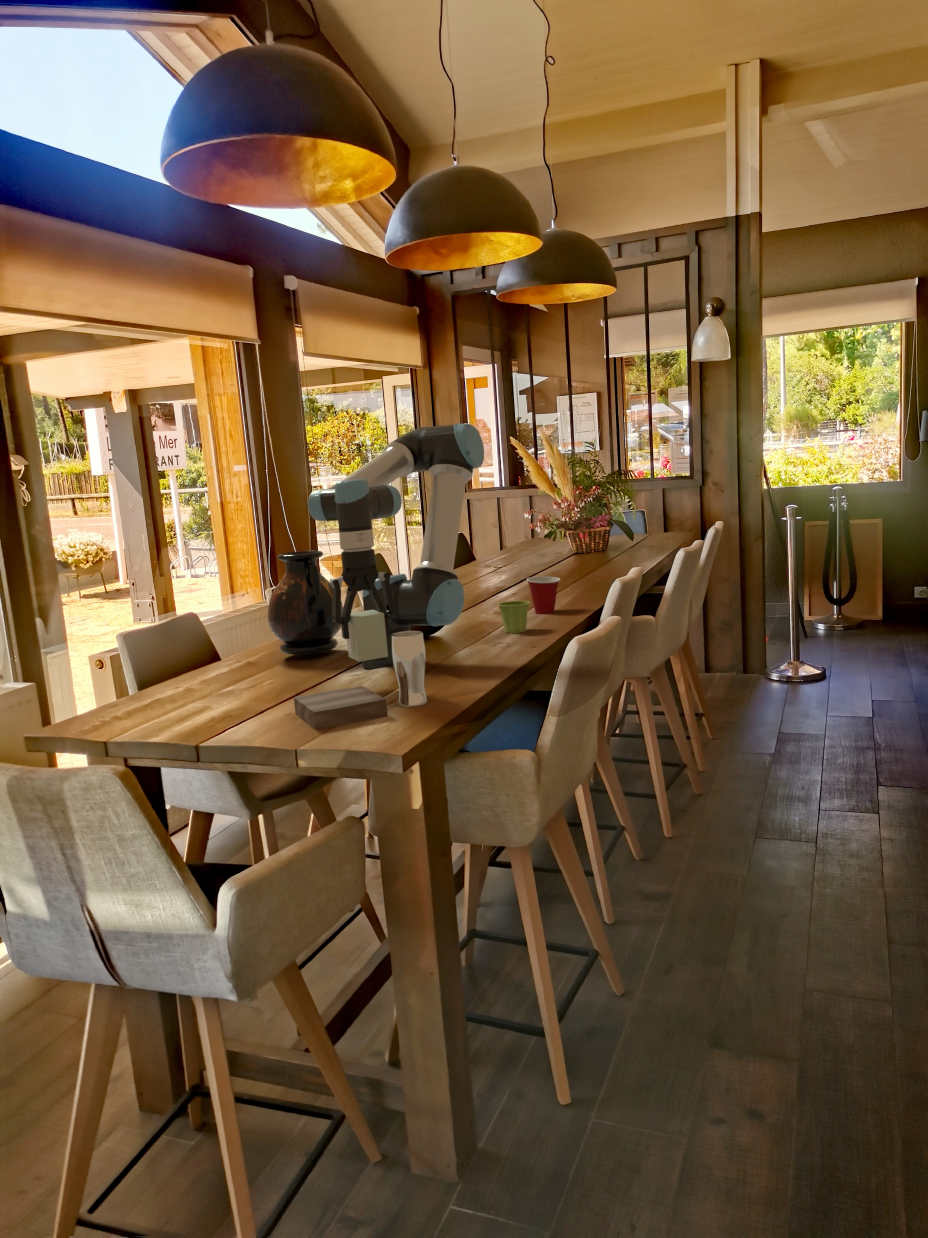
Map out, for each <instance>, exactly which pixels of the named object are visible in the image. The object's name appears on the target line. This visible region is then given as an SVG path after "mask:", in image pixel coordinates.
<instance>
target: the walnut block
mask: <svg viewBox="0 0 928 1238" xmlns="http://www.w3.org/2000/svg"><path fill="white" fill-rule="evenodd" d="M293 704H294V713H295V715H296V716H298V717H299V718H300V719H301V720H302V721H304V722H305V723H306V724H308V725H309V726H310V727H312V729H314V730H316V731H317V730H321V729H327V728H333V727H338V726H343V725H349V724H354V723H359V722H365V721H370V720H376V719H381V718H387V717H388V706H387V699H386V698H385V697H383V696H381V695H379V694H378V693H375V692H374V691H372V690H370V689H369V688H366V687H365V686H363V685H359V686H354V687H347V688H341V689H335V690H329V691H324V692H318V693H313V694H306V695H301V696H295V697H293Z"/></svg>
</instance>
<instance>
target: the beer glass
mask: <svg viewBox="0 0 928 1238" xmlns="http://www.w3.org/2000/svg"><path fill="white" fill-rule="evenodd" d="M391 636H392V658H393V664H394V666H393V668H394V670H395V675H396V679H397V683H398V702H397V704H398V706H400V707H404V708H415V707H421V706H424V705H426V704H427V703H428V699H427V698H428V697H427V695H426V690H425V673H426V671H425V670H426V659H427V658H426V647H425V639H424V633H423V631H420V630H411V631H404V632H397V633H394V634H392V635H391Z"/></svg>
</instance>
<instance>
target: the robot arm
mask: <svg viewBox="0 0 928 1238" xmlns="http://www.w3.org/2000/svg"><path fill="white" fill-rule="evenodd" d="M481 436H482V435H481V434H480V433H479V430H478V429H477V428H476V427H475V426H474V425H473V424H471V423H453V424H445V425H435V426H433V425H432V426H422V427H418V428H415V429H413V430H410V431H408V432H407V433H404V434H403V435H400V436H399V437H397V438H395V440H392V441H391V442H389V443H388V444H387V445H385V446H384V448H383V450H382V452H381V453H380V454H378V455H377V456H376V457H374V458H373V459H371V460H370V461H368V462H367V463H365V464H364V465H362V466H361V467H359V468H358V469H357V470H355V471H353V472H351V473H350V474H348V476H346V477H344V478H343V479H341V480H338V481H337V482H336V483H335V484H334V485H332V486H330V487H328V488H321V489H316V490H314V491H312V492H311V493H310V494H309V496H308V500H307V509H308V512H309V515H310V516H311V518H312V519H314V520H315V521H319V522H328V523H329V522H335V521H337V523H338V536H339V547H340V549H341V550H342V551H341V553H340V555H341V556H340V557H341V567H342V572H341V576H339V577H336V578H330V580H329V582H330V583H331V586H332V589H333V593H332V621H333V622H335V623H338V624H341V628H340V630H341V636H342V638H343V639H344V640H346V645H347V652H349V653H351V654H353V653H355V649H354V639H353V629H352V625H351V624H349V619H350V615H351V613H352V611H353V606H354V602H355V598H356V596H357V594H358V592H362V596H361V599H362V603H363V611H367V610H376V611H379V612H382V613H384V619H385V630H386V640H387V651H388V657H383V658H377V659H372V660H366V661H361V666H362V667H363V668H364V669H368V670H376V669H377V670H379V669H384V668H389V667H390V668H391V667H394V664H393V658H392V636H391V635H392V634H394V633H397V632H404V631H412V630H411V626H432V627H439V626H448V625H451V624H453V623H454V622H455V621H456V620H458V618H459V617H460V616H461V613H462V611H463V608H464V604H465V593H464V591H465V590H464V586H463V584H462V582H461V581H459V574H457V573H456V571H455V570H454V566H455V559H456V553H457V546H458V545H457V544H458V537H459V531H460V524H461V517H462V516H461V515H462V510H463V503H464V496H465V491H466V490H465V489H466V484H467V483H468V482H470V481H471V480H472V478H473V474H474V469H478V468H480V467H481V466H482V465H483V463H484V462H485V461H484V460H485V447H484V442H483V439H482V437H481ZM419 472H421V473H422V472H428V474H429V475H430V476H431V477H432V482H431V489H430V496H429V502H428V507H427V508H428V509H427V517H426V522H425V523H426V524H425V530H424V537H423V542H422V549H421V554H420V555H421V556H420V561H419V565H417V566H415V568H413V570H412V575H411V576H412V577H411V579H408V577H407V575H406V574H405V573H398V574H393V575H391V573H390V572H388V571H379V570H378V569H377V562H376V560H377V559H376V552H375V549H374V546H375V543H374V532H373V522H372V521H373V520H379V519H389V518H390V517H393V516H395V515H397V514H398V513H399V511H400V510H401V508H402V502H403V499H402V494H401V492H400V491H399V490H398V488H397V487H395V486H393V485H391V483H393V482H395V481H396V480H398V479H399V478H406V477H408V476H409V475H412V474H413V473H419ZM372 547H373V548H372ZM343 583H345V585H346V586H347V587H346V588H347V589H346V597H345V599H344V603H343V611H342V615H341V601H342V588H341V587H343Z"/></svg>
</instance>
